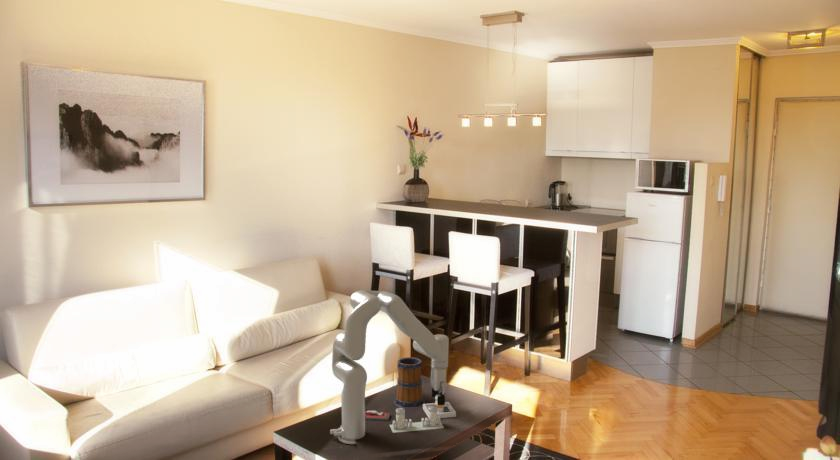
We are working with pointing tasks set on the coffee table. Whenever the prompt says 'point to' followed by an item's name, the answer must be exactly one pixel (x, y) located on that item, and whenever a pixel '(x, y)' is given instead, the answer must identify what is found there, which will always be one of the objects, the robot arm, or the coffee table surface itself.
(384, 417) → the red flat piece
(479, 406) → the coffee table surface
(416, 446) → the coffee table surface
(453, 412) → the tray
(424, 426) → the board
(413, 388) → the mug
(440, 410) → the marked fuse
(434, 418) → the far fuse
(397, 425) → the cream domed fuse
